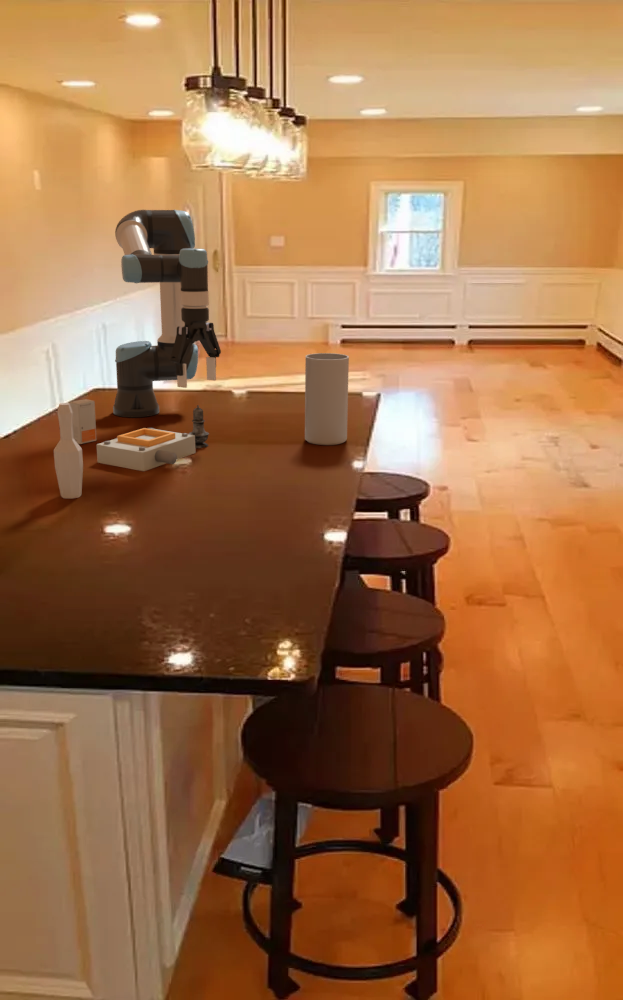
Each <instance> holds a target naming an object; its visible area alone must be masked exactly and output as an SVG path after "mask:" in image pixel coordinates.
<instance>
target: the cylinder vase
mask: <svg viewBox="0 0 623 1000" xmlns="http://www.w3.org/2000/svg"><path fill="white" fill-rule="evenodd" d="M349 359H350V356H349V355H346V354H343V353H342V354H341V353H331V352H329V353H328V352H323V353H322V352H318V353H310V354H306V355H305V365H304V366H305V373H304V375H305V379H304V381H305V384H304V398H305V399H304V439H305V441H307V443H309V444H313V445H316V446H317V445H319V446H320V445H321V446H335V445H340V444H343V443H345V442H346V441H347V439H348V407H349V405H348V404H349V372H350V371H349V367H350V363H349V362H350V360H349Z"/></svg>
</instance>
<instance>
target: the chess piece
mask: <svg viewBox="0 0 623 1000" xmlns="http://www.w3.org/2000/svg"><path fill="white" fill-rule="evenodd" d="M192 418H193V419H192V420H191V422H192V426H193V427H192V431H190V432H189V433H188V434H189V435H195V449H204V448H207V447H209V444H208V443H206V441H207V440H208V437H209V435H210V433H209V432H208V431H206V430H205V422H206V420H205V419H204V410H203V408H201V407H200V405H199V404H197V405H196V408H194V409H193V411H192ZM203 447H204V448H203Z"/></svg>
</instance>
